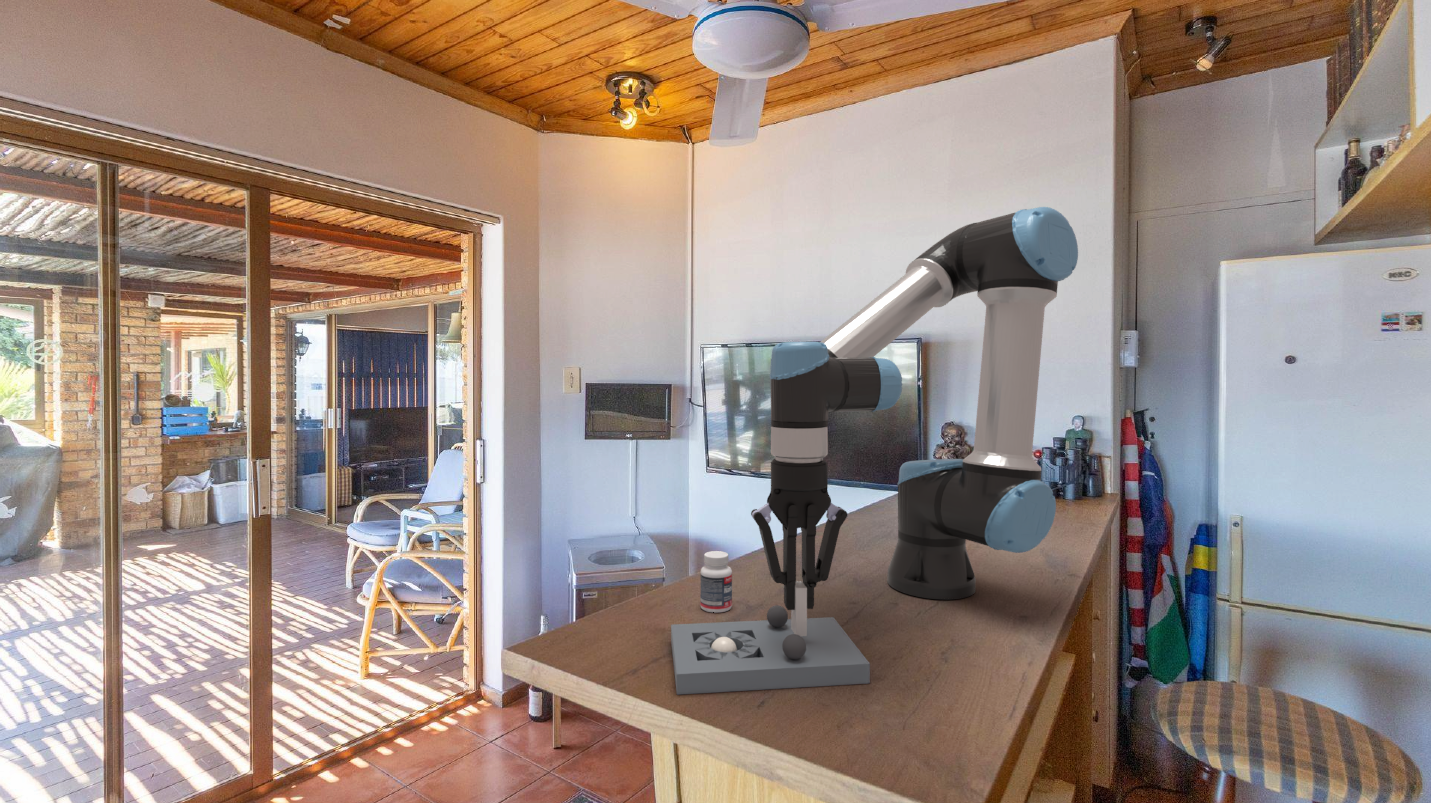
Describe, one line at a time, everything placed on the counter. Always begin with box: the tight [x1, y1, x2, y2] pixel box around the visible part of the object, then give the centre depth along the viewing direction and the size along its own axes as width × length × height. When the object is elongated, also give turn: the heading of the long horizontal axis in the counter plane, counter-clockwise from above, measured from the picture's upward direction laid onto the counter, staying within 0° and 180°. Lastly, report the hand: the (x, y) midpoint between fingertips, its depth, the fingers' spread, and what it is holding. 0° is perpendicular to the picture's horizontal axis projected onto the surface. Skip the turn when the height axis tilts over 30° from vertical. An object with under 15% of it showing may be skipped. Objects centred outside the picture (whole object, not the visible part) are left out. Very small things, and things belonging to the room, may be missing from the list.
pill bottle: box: [699, 550, 733, 614], centre depth 103 cm, size 5×5×9 cm
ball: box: [711, 637, 737, 652], centre depth 83 cm, size 4×4×4 cm
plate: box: [670, 616, 871, 695], centre depth 84 cm, size 24×15×2 cm, turn 97°
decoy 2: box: [782, 634, 806, 660], centre depth 79 cm, size 3×3×3 cm
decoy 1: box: [766, 604, 789, 628], centre depth 89 cm, size 3×3×3 cm
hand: (798, 631), depth 84 cm, fingers closed
